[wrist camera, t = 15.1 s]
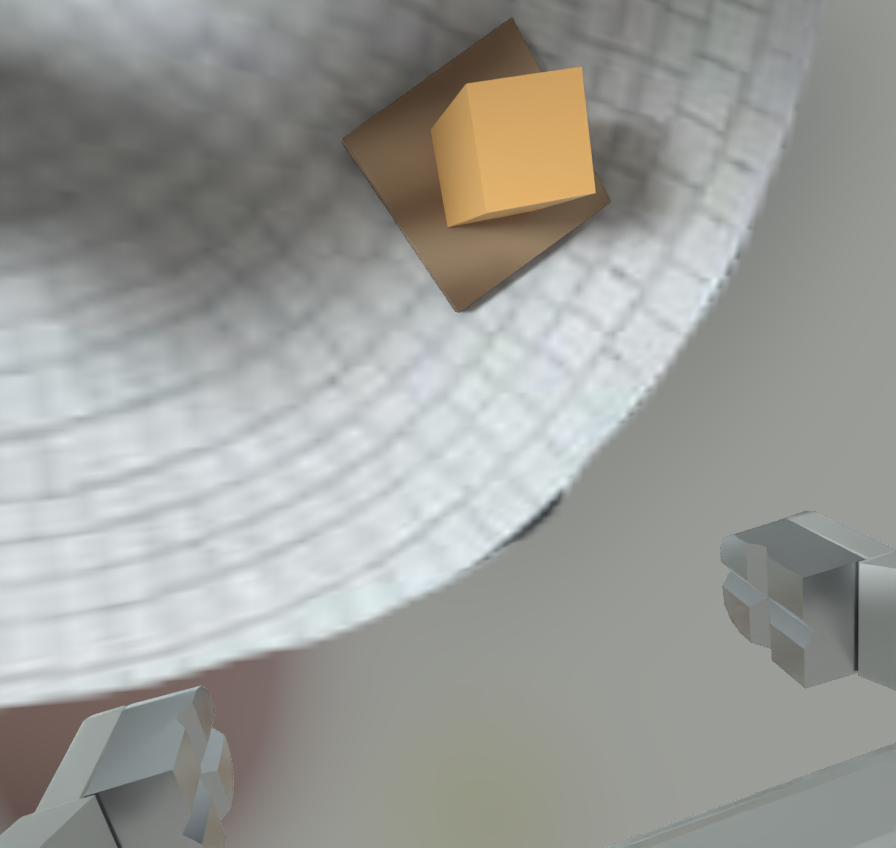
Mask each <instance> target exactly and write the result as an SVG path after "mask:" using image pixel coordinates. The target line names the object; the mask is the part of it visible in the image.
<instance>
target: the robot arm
mask: <svg viewBox="0 0 896 848" xmlns="http://www.w3.org/2000/svg"><path fill="white" fill-rule="evenodd" d="M720 555H721V556H720V557H721V562H722V563H723V564H724V565H725V566H726V567H727V568H728V569H729V571H730V572H729V574H728V576H727V578H726V580H725V582H724V584H723V586H722V587H723V597H724V605H725V607H726V610H727V612H728V614H729V617H730V619H731V621H732V623H733V624H734V625H735V627H736V628H737V629H738V631H739V632H740V633H741V634H742V635H743V636H744V637H745V638H746V639H748V640H749V641H750V642H751V643H754V644H757V645H760V646H764V647H767V648H770V649H771V658H772V661H773V662H775V663H776V664H777V665H778V666H779V667H780V668H781V669H783V670H784V671H785V672H786V673H787V674H789V675H790V676H791V677H792V678H793V679H795V680H796V681H797V682H798V683H799V684H801V685H802V686H803V687H804V688H809V687H812V686H816V685H819V684H822V683H826V682H829V681H832V680H836V679H839V678H842V677H846V676H849V675H852V674H855V673H858V676H861V677H863V678H865V679H868V680H871V681H873V682H876V683H878V684H881V685H883V686H886V687H888V688H891V689H893V690H896V549H895V548H893V547H891V546H889V545H886V544H884V543H882V542H880V541H878V540H876V539H874V538H871V537H869V536H867V535H865V534H863V533H861V532H859V531H857V530H855V529H852V528H850V527H848V526H846V525H844V524H842V523H840V522H838V521H835V520H833V519H831V518H829V517H827V516H825V515H822V514H821V513H819V512H816V511H804V512H801V513H797V514H794V515H791V516H788V517H785V518H782V519H779V520H777V521H774V522H771V523H768V524H765V525H761V526H758V527H755V528H752V529H749V530H745V531H742V532H739V533H736V534H732V535H729V536H726V537H723V539H722V543H721V546H720ZM214 714H215V707H214V704H213V702H212V699H211V697H210V694H209V692H208V690H207V689H206V688H204V687H203V686H198V687H194V688H190V689H187V690H183V691H179V692H175V693H172V694H168V695H164V696H161V697H156V698H153V699H149V700H146V701H141V702H138V703H134V704H130V705H129V706H122V707H118V708H115V709H112V710H108V711H105V712H102V713H98V714H95V715H92V716H91V717H89V718H87V719H85V720H84V721H83V723H82V725H81V727H80V728H79V730H78V732H77V734H76V736H75V738H74V740H73V742H72V743H71V745H70V747H69V749H68V751H67V753H66V755H65V757H64V758H63V760H62V762H61V764H60V766H59V768H58V770H57V772H56V773H55V776H54V777H53V779H52V781H51V783H50V785H49V787H48V789H47V790H46V792H45V794H44V796H43V798H42V800H41V802H40V804H39V805H38V808H37V809H36V811H35V813H33V814H30V815H27V816H23V817H21V818H20V819H18V820H17V821H16V822H15V823H14V824H13V825H12V826H10V827H9V828H8V829H7V830H6V831H5V832H4V833H3V834H1V835H0V848H224V846H225V841H226V836H225V833H224V830H223V828H222V825H221V822H220V821H221V820H222V819H223V818H224V816H225V815H226V814H227V812H228V811H229V810H230V809H231V804H232V797H233V790H234V787H233V766H232V760H231V755H230V751H229V747H228V744H227V741H226V739H225V736H224V735H223V734H222V733H220V732H218V731H217V730H215V729H213V728H212V722H213V718H214ZM604 848H896V743H894V744H891V745H888V746H885V747H883V748H880V749H877V750H874V751H871V752H869V753H866V754H863V755H860V756H857V757H855V758H852V759H849V760H846V761H844V762H841V763H838V764H835V765H832V766H830V767H827V768H824V769H821V770H818V771H816V772H813V773H810V774H807V775H804V776H802V777H799V778H796V779H793V780H790V781H788V782H785V783H782V784H779V785H777V786H774V787H771V788H768V789H765V790H763V791H760V792H757V793H754V794H751V795H748V796H746V797H743V798H740V799H737V800H735V801H732V802H729V803H726V804H723V805H720V806H718V807H715V808H712V809H709V810H707V811H704V812H701V813H698V814H696V815H693V816H690V817H687V818H685V819H682V820H679V821H676V822H674V823H671V824H668V825H665V826H662V827H660V828H657V829H654V830H652V831H649V832H646V833H643V834H640V835H637V836H635V837H632V838H629V839H626V840H624V841H621V842H618V843H615V844H613V845H610V846H607V847H604Z"/></svg>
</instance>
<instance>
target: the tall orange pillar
mask: <svg viewBox="0 0 896 848" xmlns="http://www.w3.org/2000/svg"><path fill="white" fill-rule="evenodd" d="M431 136H432V142H433V147H434V153H435V159H436V164H437V170H438V176H439V181H440V187H441V193H442V198H443V204H444V210H445V215H446V221H447V227H452V226H458V225H463V224H469V223H474V222H479V221H485V220H490V219H495V218H501V217H506V216H511V215H517V214H522V213H528V212H533V211H536V210H540V209H543V208H546V207H550V206H553V205H557V204H560V203H563V202H567V201H570V200H574V199H577V198H580V197H584V196H587V195H590V194H594V193H596V191H595V182H594V173H593V163H592V154H591V145H590V136H589V127H588V118H587V109H586V100H585V91H584V81H583V72H582V66H581V67H574V68H567V69H561V70H554V71H547V72H541V73H534V74H527V75H521V76H514V77H507V78H501V79H494V80H487V81H481V82H474V83H467V84H466V85H465V86H464V87H463V88H462V90H461V91H460V92H459V94H458V95H457V96H456V98H455V99H454V100H453V101H452V103H451V104H450V105H449V107H448V108H447V109H446V111H445V112H444V113H443V114H442V116H441V117H440V118H439V120H438V121H437V122H436V123H435V125H434V126H433V127H432V129H431Z"/></svg>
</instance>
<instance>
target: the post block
mask: <svg viewBox="0 0 896 848" xmlns="http://www.w3.org/2000/svg"><path fill="white" fill-rule="evenodd" d="M534 73H541V70H540V68H539V66H538V64H537V62H536V60H535V59H534V57H533V55H532V53H531V51H530V49H529V47H528V46H527V44H526V42H525V40H524V38H523V36H522V34H521V32H520V31H519V29H518V27H517V25H516V23H515V21H514V19H513V18H510V19H509V20H508V21H506V22H505V23H503V24H502V25H501V26H499V27H498V28H496V29H495V30H494V31H492V32H491V33H489V34H488V35H487V36H485V37H484V38H482V39H481V40H480V41H478V42H477V43H475V44H474V45H473V46H471V47H470V48H468V49H467V50H466V51H464V52H463V53H461V54H460V55H459V56H457V57H456V58H454V59H453V60H452V61H450V62H449V63H448V64H446V65H445V66H443V67H442V68H441V69H439V70H438V71H436V72H435V73H434V74H432V75H431V76H429V77H428V78H427V79H425V80H424V81H422V82H421V83H420V84H418V85H417V86H415V87H414V88H413V89H411V90H410V91H408V92H407V93H406V94H404V95H403V96H401V97H400V98H399V99H397V100H396V101H394V102H393V103H392V104H390V105H389V106H387V107H386V108H385V109H383V110H382V111H381V112H379V113H378V114H376V115H375V116H374V117H372V118H371V119H369V120H368V121H367V122H365V123H364V124H362V125H361V126H360V127H358V128H357V129H355V130H354V131H353V132H351V133H350V134H348V135H347V136H346V137H344V138H343V142H342V143H343V144H344V146H345V147H346V149H347V150H348V152H349V153H350V155H351V156H352V158H353V159H354V161H355V162H356V164H357V165H358V167H359V168H360V170H361V171H362V173H363V174H364V176H365V177H366V179H367V180H368V182H369V183H370V185H371V186H372V188H373V189H374V191H375V192H376V194H377V195H378V197H379V198H380V200H381V201H382V203H383V204H384V206H385V207H386V209H387V210H388V212H389V213H390V215H391V216H392V218H393V219H394V221H395V222H396V224H397V225H398V227H399V228H400V230H401V231H402V233H403V234H404V236H405V237H406V239H407V240H408V242H409V243H410V245H411V246H412V248H413V249H414V251H415V252H416V254H417V255H418V257H419V258H420V260H421V261H422V263H423V264H424V266H425V267H426V269H427V270H428V272H429V273H430V275H431V276H432V278H433V279H434V280H435V282H436V283H437V285H438V286H439V288H440V289H441V291H442V292H443V294H444V295H445V297H446V298H447V300H448V301H449V303H450V304H451V306H452V307H453V309H454V310H455V312H459V313H460V312H461V311H462V310H464V309H465V308H466V307H468V306H469V305H470V304H472V303H473V302H475V301H476V300H477V299H479V298H480V297H481V296H483V295H484V294H486V293H487V292H488V291H490V290H491V289H492V288H494V287H495V286H497V285H498V284H499V283H501V282H502V281H503V280H505V279H506V278H507V277H509V276H510V275H512V274H513V273H514V272H516V271H517V270H518V269H520V268H521V267H523V266H524V265H525V264H527V263H528V262H529V261H531V260H532V259H533V258H535V257H536V256H538V255H539V254H540V253H542V252H543V251H544V250H546V249H547V248H549V247H550V246H551V245H553V244H554V243H555V242H557V241H558V240H560V239H561V238H562V237H564V236H565V235H566V234H568V233H569V232H570V231H572V230H573V229H575V228H576V227H577V226H579V225H580V224H581V223H583V222H584V221H586V220H587V219H588V218H590V217H591V216H592V215H594V214H595V213H596V212H598V211H599V210H601V209H602V208H603V207H605V206H606V205H607V204H609V203H610V202H611V201H610V199H609V197H608V195H607V193H606V191H605V189H604V187H603V186H602V184H601V182H600V180H599V178H598V176H597V174H596V173H595V171H594V169H593V173H594V182H595V191H596V193H594V194H590V195H587V196H584V197H580V198H577V199H574V200H570V201H567V202H563V203H560V204H557V205H553V206H550V207H546V208H543V209H540V210H536V211H533V212H528V213H522V214H517V215H511V216H506V217H501V218H495V219H490V220H485V221H479V222H474V223H469V224H463V225H458V226H452V227H447V221H446V215H445V210H444V204H443V198H442V193H441V187H440V181H439V176H438V170H437V164H436V159H435V153H434V147H433V142H432V136H431V129H432V127H433V126H434V125H435V123H436V122H437V121H438V120H439V118H440V117H441V116H442V114H443V113H444V112H445V111H446V109H447V108H448V107H449V105H450V104H451V103H452V101H453V100H454V99H455V98H456V96H457V95H458V94H459V92H460V91H461V90H462V88H463V87H464V86H465V85H466V84H467V83H474V82H481V81H487V80H494V79H501V78H507V77H514V76H521V75H527V74H534Z"/></svg>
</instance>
